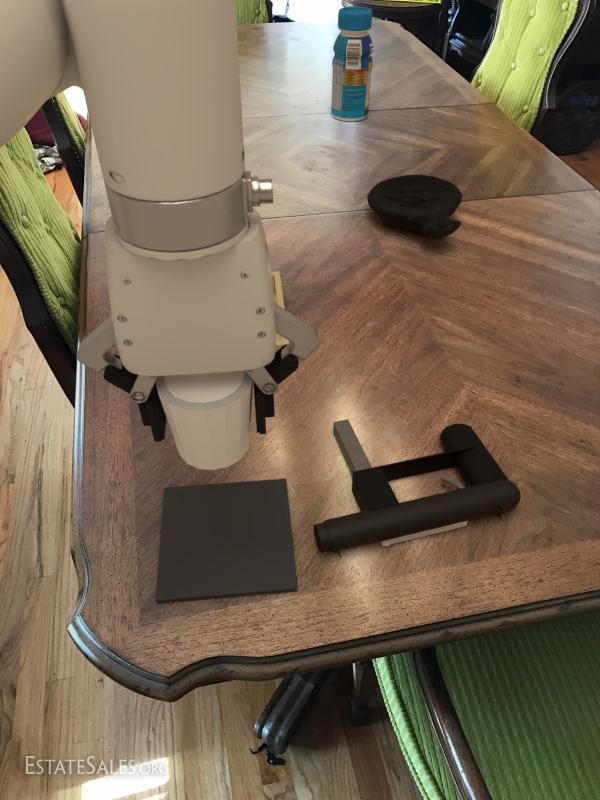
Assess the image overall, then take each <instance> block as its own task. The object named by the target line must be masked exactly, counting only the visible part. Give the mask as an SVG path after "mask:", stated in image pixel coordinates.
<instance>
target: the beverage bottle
mask: <svg viewBox="0 0 600 800" xmlns="http://www.w3.org/2000/svg"><path fill="white" fill-rule="evenodd" d="M372 23H373V10H372V9H371V8H369V7H365V6H357V5H355V6H354V5H353V6H352V5H351V6H344V7H341V8H339V10H338V13H337V28H338V30H339V31H340V32H339V34H337V36H336V38H335V41H334V43H333V49H332V50H333V52H334V56H333V58H332V60H331V61H332V62H331V67H332V79H331V107H330V114H331V116H332V117H333V118H334V119H336V120H339V121H341V122H342V121H343V122H359V121H362V120H364V119H366V118H367V117H368V116H369V109H370V94H371V82H372V69H373V67H374V60H373V56H372V54H373V53H374V44H373V40H372V37H371V36H370V34H369V31H371V29H372V25H373V24H372Z"/></svg>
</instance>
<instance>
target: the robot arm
mask: <svg viewBox="0 0 600 800" xmlns="http://www.w3.org/2000/svg"><path fill="white" fill-rule="evenodd" d="M236 6H237V5H236V0H0V149H1V148H2V147H4V146H5V145H7V144H8V143H10V141H12V140H13V139H14V138H15V137H16V136H17V135H18V134H19V133H20V131H22V130H23V128H24V127H25V126H26V125H27V124H28V123H29V122H30V120H32V119H33V117H34V116H35V115H36V114H37V112H38V111H39V110H40V109H41V108H42V106H43V105H44V104H45V103H46V102H47V101H48V100H50V99H52V98H53V97H55V96H57V95H59V94H60V93H63V92H64V91H66V90H68V89H69V88H71V87H77V88H80V89H81V90H82V91H83V95H84V100H85V104H86V109H87V113H88V117H89V121H90V122H89V123H90V126H91V130H92V135H93V140H94V143H95V147H96V153H97V158H98V162H99V165H100V171H101V174H102V177H103V178H102V179H103V183H104V188H105V193H106V196H107V201H108V204H109V210H110V215H111V216H109V218H108V219H107V220H106V222H105V226H104V229H105V230H104V260H105V261H104V263H105V273H106V276H105V277H106V285H107V292H108V299H109V300H108V301H109V307H110V313H111V314H110V315H109V316H108V317H107V318H106V319H105V320H104V321H102V322H101V323H100V324H99V325H98V326H97V327H96V328H94V329H93V331H91V333H89V334H88V335H87V336H86V337H85V338H84V339H83V340H82V341H80V343H79V345H78V349H77V352H76V360H77V361H78V362H79V363H81V364H83V365H84V366H86V367H87V368H89V369H90V370H92V371H93V372H94V373H97V374H100V375H102V376H103V379H104V380H105V381H106V382H107V383H109V384H111V385H113V386H114V387H116V388H118V389H120V390H121V391H124V392H126V393H127V394H129V399H130V400H131V401H132V402H133V403H136V404H137V406H138V410H139V414H140V417H141V422H142V425H143V426H144V427H149V426H150V430H151V434H152V437H153V441H154V443H158V442H163V441H164V440H165V439H166V428H167V417H166V414H165V412H164V409H163V406H162V403H161V400H160V397H159V394H158V391H157V386H156V382H155V381H156V379H157V377H158V376H168V375H187V374H204V373H219V372H232V371H244V370H245V371H246V372H247V373H248V375H249V376H250V377H251V378H252V380H253V399H254V413H255V428H256V434H259V435H267V421H266V419H268V418H275V417H276V416H275V393H277V392H278V391H279V385H280V384H281V383H282V382H283V381H285V380H286V379H287V378H288V377H289V376H291V375H293V374H294V373H295V372H296V371H297V370H298V369H299V366H300V363H301V362H302V361H303V362H304V361H305V360H306V359H307V358H308V357H309V356H310V355H311V354H312V353H313V352H314V351H316V350H317V348H318V347H320V339H319V334H318V330H317V329H316V328H315V327H313V326H311V324H309V323H307V322H305V321H304V320H302V319H301V318H300V317H297V316H296V315H294V314H293V313H292V312H290V311H288V310H287V309H286V308H285V309H284V308H282V307H281V306H279V305H277V304H276V303H274V300H273V288H272V278H271V272H272V269H271V268H272V267H271V260H270V254H269V248H268V242H267V237H266V233H265V229H264V225H263V222H262V221H263V220H262V218H261V215H260V212H259V211H258V210H257V209H256V208H257V207H261V205H262V204H264V205H265V204H274V191H273V190H274V189H273V187H274V186H273V179H272V178H259V176H258V175H257V176H252V173H251V170H246V159H245V158H246V157H245V155H246V154H245V142H244V141H245V140H244V129H243V108H242V106H243V105H242V92H241V91H242V90H241V74H240V72H241V71H240V58H239V57H240V56H239V41H238V40H239V39H238V27H237V26H238V24H237V7H236ZM276 333H277V334H279V335H281V336H282V337H284V338H286V339H287V340H289V344H286V345H284V346H282V347H281V348H280V349H279V350H277V351H276V352H275V347H276ZM115 346H116V347H117V348H116V349H117V351H118V352H117V353H118V354H112V352H111V351H110V350H111V349H112V348H113V347H115Z"/></svg>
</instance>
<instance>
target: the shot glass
mask: <svg viewBox="0 0 600 800" xmlns="http://www.w3.org/2000/svg"><path fill="white" fill-rule="evenodd" d="M155 382H156V386H157V391H158V394H159V397H160V400H161V403H162V406H163V409H164V412H165V414H166V421H167V423H168V425H169V428H170V432H171V435H172V437H173V441H174V443H175V446H176V448H177V451H178V454H179V456H180V457H181V458H182V460H183V461H184V462H185V463H186V464H187V465H189V466H192V467H194V468H197V469H199V470H207V471H208V470H209V471H216V470H220V469H224V468H228V467H231V466H232V465H234V464H236V463H237V462H239V461H241V459H242V458H243V457H244V456H245V454H246V453H247V451H248V450H249V445H250V440H251V427H252V426H251V425H252V424H251V423H252V408H253V391H254V385H253V380H252V378H251V377H250V376H249V375H248V373H247V372H246V371H245V370H244V371H232V372H219V373H204V374H187V375H168V376H158V377H157V379H156V381H155Z"/></svg>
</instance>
